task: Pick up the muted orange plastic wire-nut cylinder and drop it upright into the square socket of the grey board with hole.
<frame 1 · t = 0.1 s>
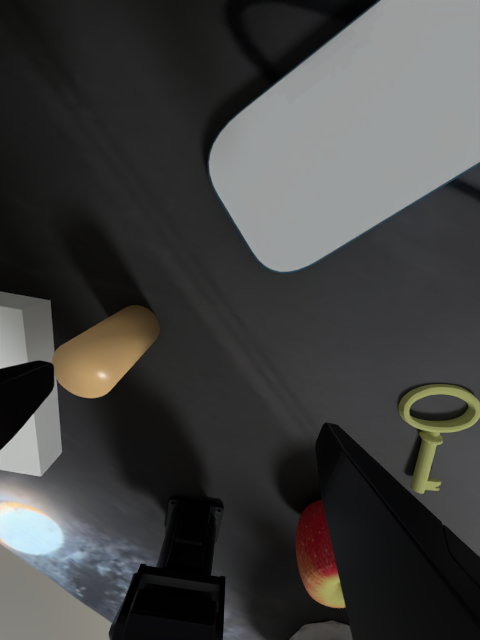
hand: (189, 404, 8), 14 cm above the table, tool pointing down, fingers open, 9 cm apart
ceramic pitcher: (326, 636, 39), on the table
external hard drive: (371, 132, 18), on the table
key: (424, 427, 26), on the table
wire nut: (138, 326, 23), on the table
apple: (324, 506, 30), on the table
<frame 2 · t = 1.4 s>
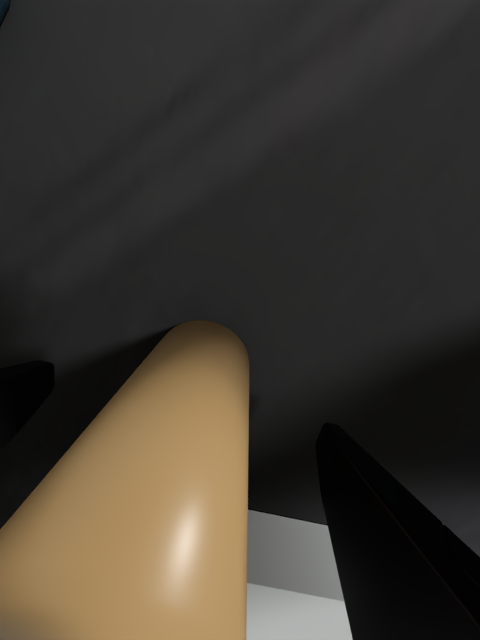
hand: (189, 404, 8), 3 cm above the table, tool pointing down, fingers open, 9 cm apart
grey board with hole: (276, 615, 17), on the table
wire nut: (202, 364, 11), on the table
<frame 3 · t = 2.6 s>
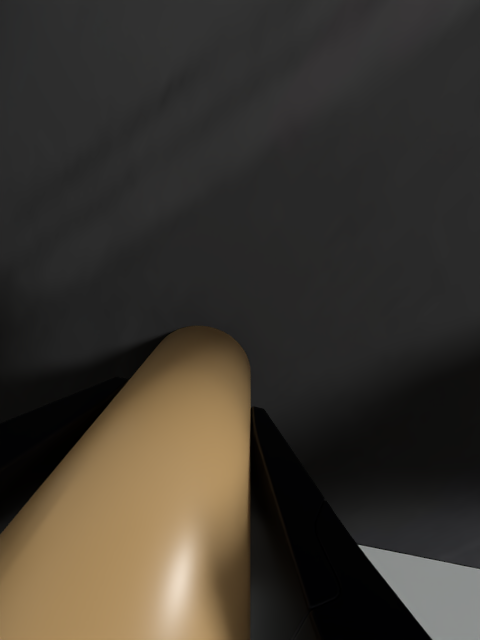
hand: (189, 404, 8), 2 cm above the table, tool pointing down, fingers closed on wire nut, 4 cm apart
grey board with hole: (278, 629, 16), on the table
wire nut: (201, 372, 10), on the table, touching gripper
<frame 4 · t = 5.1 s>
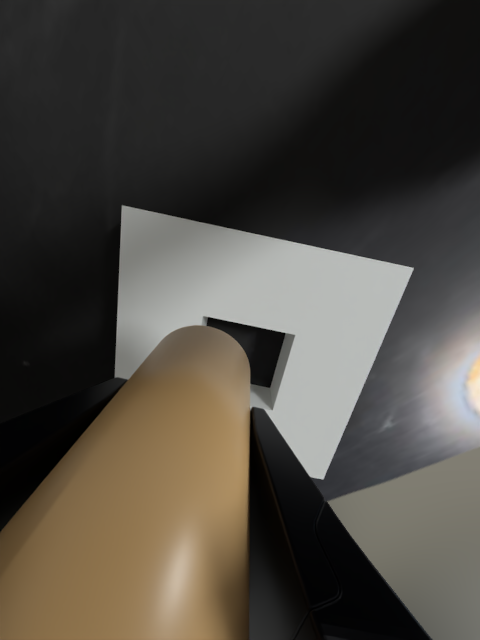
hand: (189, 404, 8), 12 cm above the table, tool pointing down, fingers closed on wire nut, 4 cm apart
grey board with hole: (241, 348, 21), on the table
wire nut: (200, 371, 10), point 10 cm above the table, touching gripper
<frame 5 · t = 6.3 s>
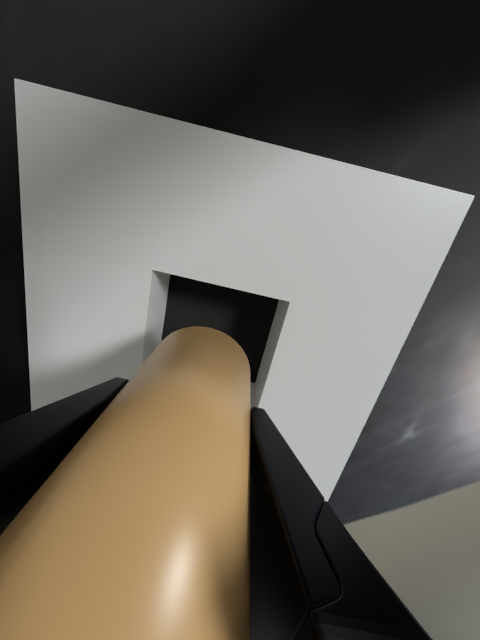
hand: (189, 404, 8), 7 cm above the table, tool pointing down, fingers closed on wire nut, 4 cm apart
grey board with hole: (216, 327, 15), on the table
wire nut: (200, 372, 10), point 5 cm above the table, touching gripper
when the fingers open (4 cm above the table, at t = 7.5 s): wire nut drops 2 cm, resting in grey board with hole.
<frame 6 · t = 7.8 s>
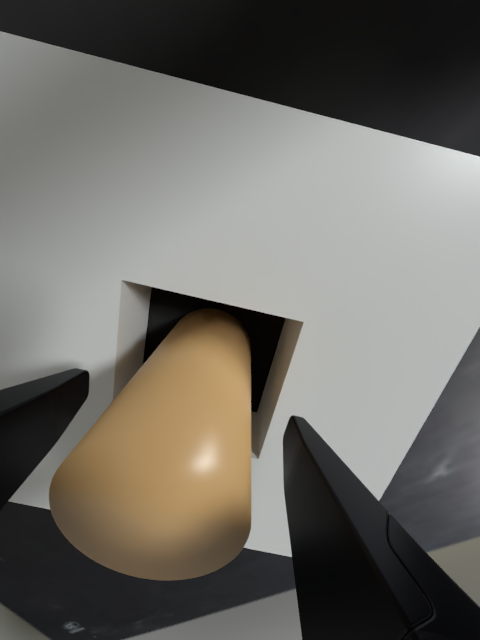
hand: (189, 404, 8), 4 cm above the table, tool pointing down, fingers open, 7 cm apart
grey board with hole: (209, 347, 13), on the table
wire nut: (210, 346, 13), resting in grey board with hole
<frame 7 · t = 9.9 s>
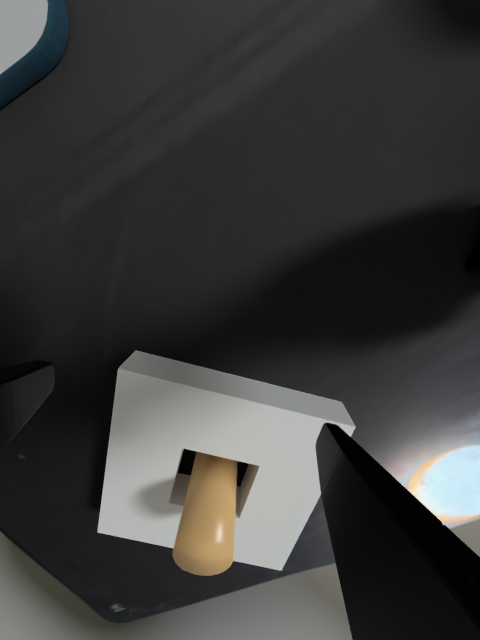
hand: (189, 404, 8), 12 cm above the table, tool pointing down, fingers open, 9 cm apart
grey board with hole: (216, 455, 24), on the table
wire nut: (216, 455, 24), resting in grey board with hole
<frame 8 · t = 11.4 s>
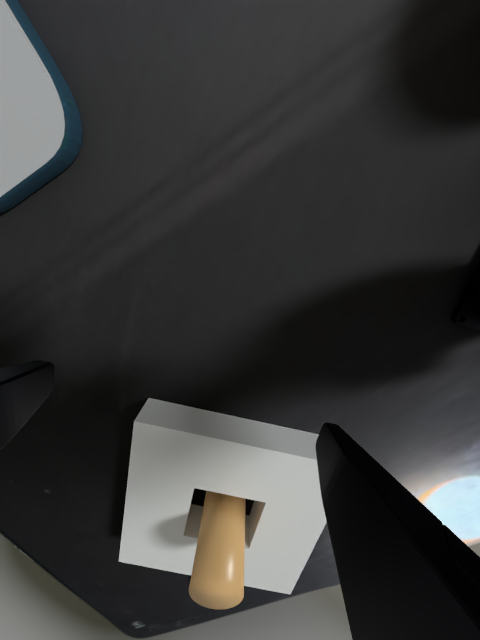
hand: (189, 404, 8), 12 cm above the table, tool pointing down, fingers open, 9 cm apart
grey board with hole: (226, 488, 26), on the table
wire nut: (226, 488, 26), resting in grey board with hole
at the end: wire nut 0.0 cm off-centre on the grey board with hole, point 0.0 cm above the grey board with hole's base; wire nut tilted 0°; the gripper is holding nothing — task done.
